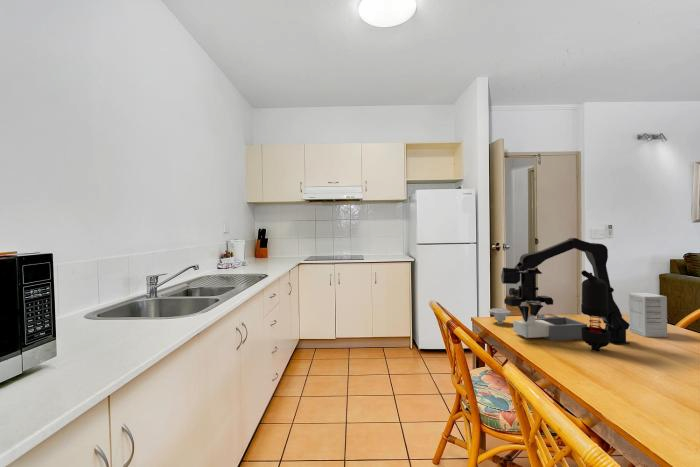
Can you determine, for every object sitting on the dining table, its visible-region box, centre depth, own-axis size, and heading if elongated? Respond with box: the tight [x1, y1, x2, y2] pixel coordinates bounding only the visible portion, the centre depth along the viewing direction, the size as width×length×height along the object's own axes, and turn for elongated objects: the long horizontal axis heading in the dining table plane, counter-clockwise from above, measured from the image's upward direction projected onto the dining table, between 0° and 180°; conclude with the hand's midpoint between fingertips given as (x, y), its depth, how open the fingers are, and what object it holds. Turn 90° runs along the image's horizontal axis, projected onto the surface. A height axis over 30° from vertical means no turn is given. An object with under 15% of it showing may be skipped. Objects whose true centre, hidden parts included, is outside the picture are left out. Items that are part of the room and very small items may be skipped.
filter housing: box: [535, 313, 588, 342], centre depth 150 cm, size 18×16×6 cm
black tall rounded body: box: [580, 269, 615, 352], centre depth 129 cm, size 14×9×30 cm
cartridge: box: [513, 312, 554, 339], centre depth 146 cm, size 9×13×8 cm
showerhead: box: [488, 307, 512, 325], centre depth 166 cm, size 9×7×10 cm
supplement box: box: [627, 292, 668, 338], centre depth 148 cm, size 10×9×17 cm
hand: (528, 321), depth 145 cm, fingers closed on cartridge, 2 cm apart
